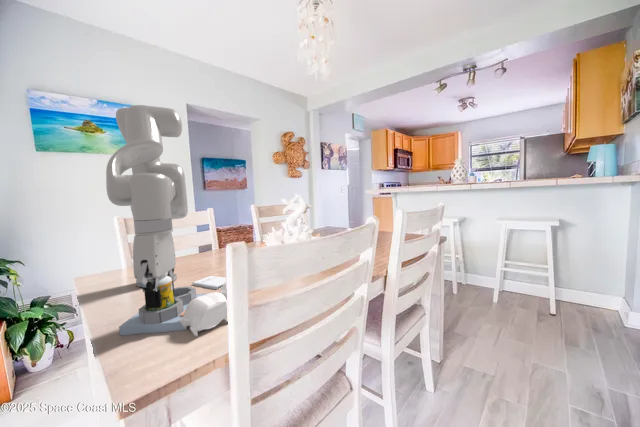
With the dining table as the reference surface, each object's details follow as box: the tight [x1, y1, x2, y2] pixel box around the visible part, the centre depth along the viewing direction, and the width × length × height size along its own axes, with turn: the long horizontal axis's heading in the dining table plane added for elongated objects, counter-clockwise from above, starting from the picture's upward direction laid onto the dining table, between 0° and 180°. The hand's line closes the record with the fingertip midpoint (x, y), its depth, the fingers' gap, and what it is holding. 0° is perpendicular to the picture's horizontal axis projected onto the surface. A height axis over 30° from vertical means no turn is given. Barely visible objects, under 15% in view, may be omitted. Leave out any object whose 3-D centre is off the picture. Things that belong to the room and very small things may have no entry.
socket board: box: [118, 286, 210, 336], centre depth 67 cm, size 17×14×4 cm
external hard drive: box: [191, 275, 227, 290], centre depth 91 cm, size 2×8×12 cm
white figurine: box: [179, 282, 228, 338], centre depth 63 cm, size 9×8×15 cm
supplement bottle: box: [148, 272, 174, 311], centre depth 63 cm, size 5×5×10 cm
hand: (161, 301), depth 63 cm, fingers closed on supplement bottle, 5 cm apart
